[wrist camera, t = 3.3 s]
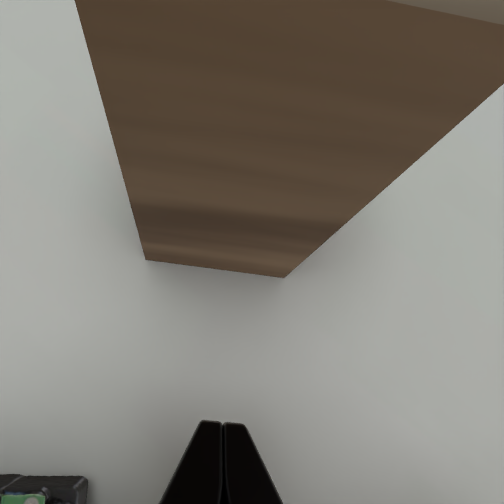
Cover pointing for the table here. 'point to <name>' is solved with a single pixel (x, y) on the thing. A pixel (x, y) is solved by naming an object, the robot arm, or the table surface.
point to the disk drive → (42, 489)
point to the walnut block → (278, 112)
